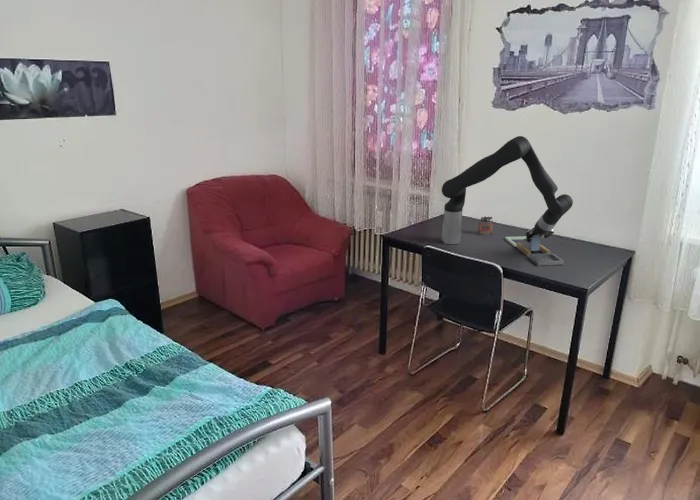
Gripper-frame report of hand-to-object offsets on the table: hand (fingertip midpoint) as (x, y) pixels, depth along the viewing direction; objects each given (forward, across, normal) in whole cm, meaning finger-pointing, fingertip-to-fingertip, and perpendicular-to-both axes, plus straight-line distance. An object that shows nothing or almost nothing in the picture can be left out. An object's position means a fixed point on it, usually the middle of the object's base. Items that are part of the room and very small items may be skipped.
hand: (532, 240), depth 256 cm
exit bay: (+13, 0, -5) cm, 14 cm away
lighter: (+25, +14, -17) cm, 33 cm away
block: (+2, 0, +4) cm, 5 cm away
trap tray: (-8, 0, +15) cm, 17 cm away
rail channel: (+3, 0, +5) cm, 6 cm away
